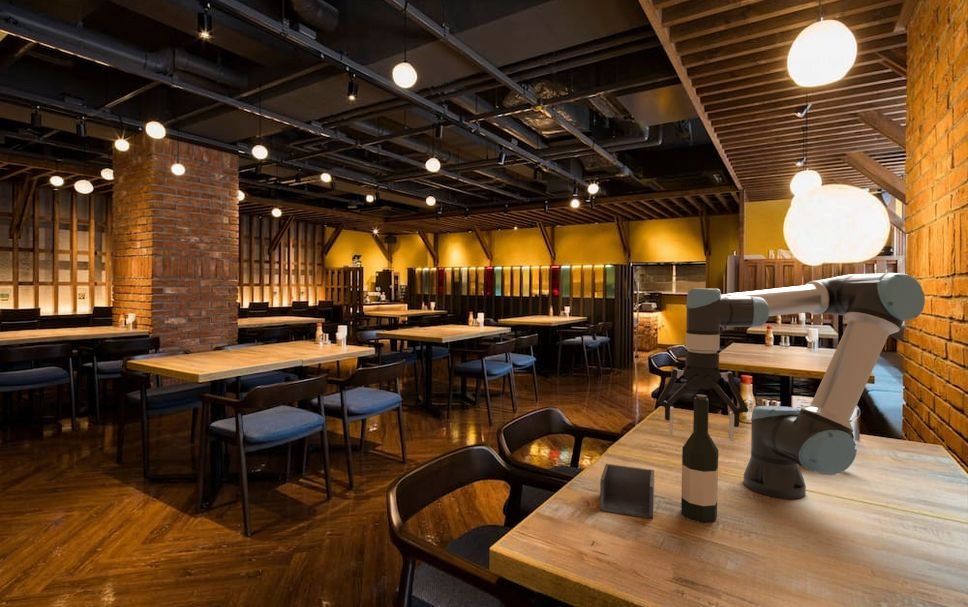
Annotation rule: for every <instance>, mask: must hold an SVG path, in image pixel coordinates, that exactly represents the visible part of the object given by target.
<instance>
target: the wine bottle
mask: <svg viewBox="0 0 968 607" xmlns="http://www.w3.org/2000/svg"><path fill="white" fill-rule="evenodd" d="M709 404H710V402H709V398H708V395H707V394H696V395H695V397H694V398H693V424H692V425H693V427H692V429H693V431H692V433H691V434H690V436H689V438H688V439H687V440H686V441H685V443H684V444H683V446H682V448H681V449H682V452H681V453H682V454H681V455H682V456H681V458H682V459H681V495H680V496H681V497H680V498H681V501H680V502H681V503H680V504H681V507H680V508H681V509H680V512H681V515H683V517H684V518H686V519H687V520H690V521H693V522H695V523H696V522H697V523H701V524H708V523H715V522H716V520H717V518H718V493H719V492H718V489H719V487H718V482H719V481H718V480H719V478H718V477H719V449H718V447H717V445H716V444H715V441H714V440H713V439H712V437H711V435H710V434H709V408H710V407H709Z"/></svg>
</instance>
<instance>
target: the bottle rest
mask: <svg viewBox="0 0 968 607" xmlns="http://www.w3.org/2000/svg"><path fill="white" fill-rule="evenodd" d="M599 484H600V486H599V487H600V488H599V489H600V492H599V493H600V494H599V496H600V497H599V500H600V501H599V511H601V512H608V513H612V514H619V515H624V516H625V515H626V516H631V517H636V518H643V519H648V520H649V519H650V520H654V506H655V505H654V504H655V497H654V496H655V469H650V468H649V469H647V468H641V467H634V466H626V465H620V464H619V465H618V464H611V463H605V465H604V468H603V471H602V475H601V477H600V483H599Z"/></svg>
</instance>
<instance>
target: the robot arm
mask: <svg viewBox="0 0 968 607" xmlns="http://www.w3.org/2000/svg"><path fill="white" fill-rule="evenodd" d="M925 304H926V297H925V292H924V291H923V288H922V285H921V284H920V282H919V281H918V280H917V279H916V278H914V277H913V276H911V275H909V274H906V273H903V272H902V273H900V272H898V273H897V272H890V271H888V272H884V273H882V272H881V273H852V274H851V273H849V274H845V275H839V276H834V277H830V278H825V279H823V278H822V279H819V280H812V281H811V280H810V281H808V282H806V283H805V284H804V285H797V286H787V287H777V288H769V289H761V290H759V289H758V290H752V291H751V290H750V291H742V292H733V293H732V292H731V293H725V294H724V293H721V290H720V289H719V288H693V287H692V288H690V289H689V290H688V291H687V296H686V305H685V308H686V322H685V323H686V332H685V349H686V352H685V366H684V367H685V368H684V370H683V369H682V370H681V369H678V368H676V367H673V368H672V369H671V375H670V378H669V379H668V381H667V383H666V385H665V387H664V388H663V390H662V392H661V393H660V394H659V397H658V398H657V404H658V405H659V406H662V407H664V419H665V421H669V427H668V428H669V432H668V433H669V435H670V436H673V434H674V406H673V405H674V404H675V403H676V402H677V401H678V400H679V399H680V398H682V396H683V395H684V394H686V392H687V391H688V390H690V389H691V388H694V389H695V390H699V389H702V390H707V391H709V390H711V389H713V390H714V391H715V392H716V393H717V395H719V397H720V398H721V399H722V400H723V401H724V403H725V405H727V406H728V407H729V408H730V410H731V411H729V413H728V415H729V416H728V419H729V420H728V439H729V441H730V442H735V441H734V440H735V438H734V437H735V428H739V426H740V415H741V414H742V413H748V412H749V407H748V406H747V404H746V402H745V400H744V399H743V396H742V394H741V393H740V391H739V388H738V387H737V385H736V383H735V377H734V374H733V372H732V371H730V370H728V371H727V372H720V353H719V352H718V351H719V350H720V344H721V343H720V337H721V336H720V333H721V327H722V328H726V327H727V328H728V327H730V328H731V327H733V328H734V327H735V328H737V327H738V328H740V327H741V328H742V327H744V328H745V327H746V328H747V327H748V328H752V327H754V328H755V327H761V326H763V325H765V324H766V322H767V321H768V320H769V317H776V316H785V315H794V314H796V315H797V314H802V313H803V314H804V313H809V314H811V315H815V316H817V315H835V316H836V315H837V316H844V317H845V319H846V321H847V325H846V327H845V330H844V331H843V334H842V336H841V339H840V340H839V343H838V345H837V347H836V349H835V351H834V353H833V355H832V357H831V360H830V362H829V364H828V366H827V368H826V370H825V373H824V374H823V377H822V380H821V382H820V384H819V386H818V388H817V390H816V393H815V395H814V397H813V398H812V401H811V403H810V405H807V406H805V407H802V408H801V409H799V408H797V407H791V406H781V405H780V406H779V405H759V406H755V407H754V408H753V409H752V412H751V418H750V421H751V423H750V424H751V428H750V429H751V430H750V431H751V432H750V433H751V438H750V439H751V441H750V442H751V444H750V458H749V461H748V462H747V463H748V464H747V466H746V468H745V470H744V472H743V479H742V480H743V484H744V486H745V487H746V488H748V489H750V490H752V491H754V492H756V493H758V494H762V495H765V496H769V497H772V498H780V499H790V500H791V499H800V498H803V497H805V496H806V492H807V489H806V488H807V486H806V482H805V478H804V476H803V473H802V470H801V467H803V468H804V469H807V470H809V471H811V472H815V473H817V474H820V475H824V476H834V475H837V474H842V473H843V472H845V471H846V470H847V469H849V468H850V467H851V466H852V464H854V462H855V460H856V457H857V451H858V450H857V448H856V446H857V445H856V444H857V443H856V441H855V439H854V440H853V438H852V437H851V435H852V433H853V434H854V428H853V426H852V424H851V418H852V416H853V413H854V412H855V410H856V408H857V405H858V403H859V401H860V399H861V396H862V394H863V392H864V390H865V389H866V388H865V387H866V385H867V383H868V381H869V379H870V376H871V374H872V372H873V371H874V368H875V366H876V363H877V362H878V359H879V357H880V355H881V353H882V351H883V348H884V346H885V344H886V342H887V339H888V338H889V336H890V335H892V334H895V333H898V332H900V330H901V328H902V326H903V323H904V322H907V321H912V320H914V319H915V318H918V317H919V316H921V314H922V312H923V310H924V308H925ZM681 376H684V379H685V380H686V381H685V382H684V383H683V384H682V385H681V386H680V387H679V389H677V390H676V391H675V392H674V393H673V394H672V395H671V396H670V397H669V398H668V399H667V396H668V395H669V394H670V392H671V390H672V388H673V386H674V384H675V383H676V380H677V379H680V378H681ZM720 379H723V380H724V381H725V382H726V383H728V385H729V388H730V390H731V392H732V393H733V395H734V397H735V399H736V401H737V403H738V404H739V406H737V405H735V403H734V402H733V401H732V400H731V398H730V397H729V396H728V395H727V394H726V393H725V391H723V389H722V388H721V386H720V385H719V384H718V382H719V381H720ZM666 399H667V400H666ZM799 465H801V467H800V466H799Z"/></svg>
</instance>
